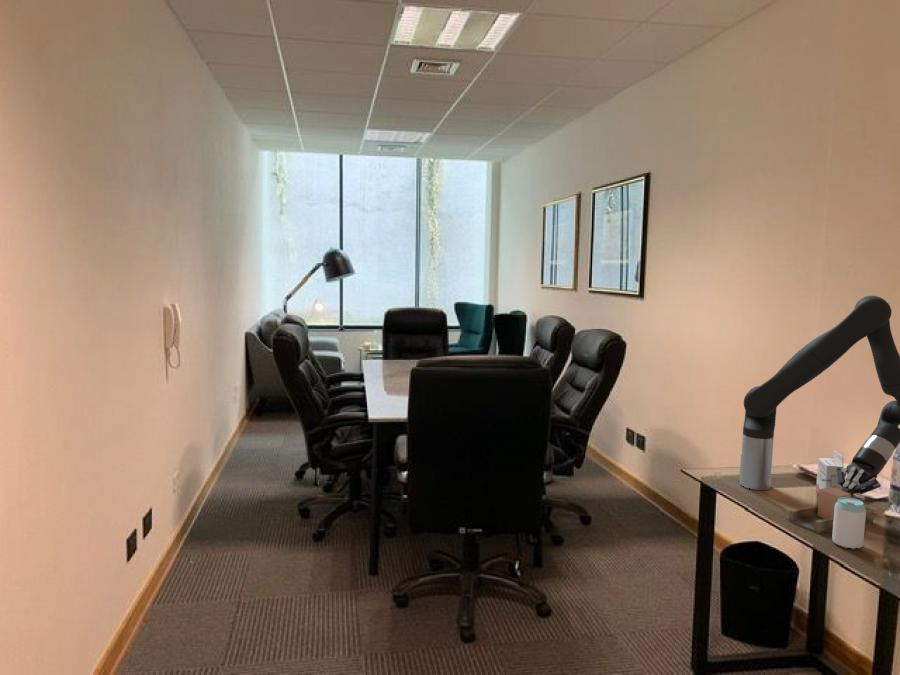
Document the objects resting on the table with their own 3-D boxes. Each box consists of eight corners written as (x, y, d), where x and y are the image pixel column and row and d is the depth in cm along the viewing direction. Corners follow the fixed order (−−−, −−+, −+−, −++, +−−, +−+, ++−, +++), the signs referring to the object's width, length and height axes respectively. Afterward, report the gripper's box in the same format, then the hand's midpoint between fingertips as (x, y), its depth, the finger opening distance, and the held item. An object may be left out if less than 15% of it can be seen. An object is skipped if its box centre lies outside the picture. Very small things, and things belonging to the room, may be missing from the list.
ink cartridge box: (814, 492, 213) (818, 448, 211) (831, 493, 212) (835, 449, 210) (824, 501, 204) (827, 456, 203) (841, 503, 203) (845, 457, 202)
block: (829, 513, 193) (831, 487, 192) (848, 521, 187) (850, 493, 186) (817, 515, 191) (819, 489, 190) (836, 523, 185) (838, 496, 184)
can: (869, 549, 171) (873, 505, 169) (845, 551, 170) (848, 506, 168) (849, 538, 178) (852, 495, 176) (825, 539, 177) (829, 496, 175)
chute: (842, 510, 197) (843, 500, 197) (872, 522, 189) (873, 511, 188) (788, 521, 189) (789, 510, 189) (818, 533, 180) (819, 522, 180)
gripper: (847, 440, 197) (815, 485, 194) (891, 453, 185) (857, 500, 182) (857, 456, 200) (826, 500, 197) (901, 469, 188) (868, 516, 185)
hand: (841, 500), depth 190 cm, fingers closed
